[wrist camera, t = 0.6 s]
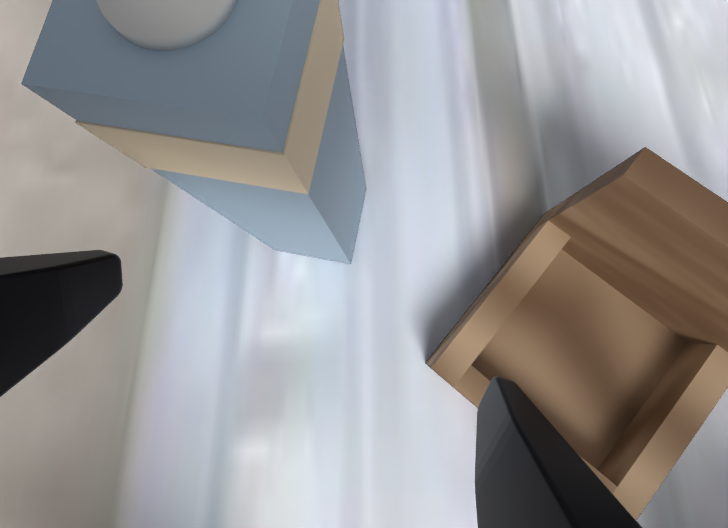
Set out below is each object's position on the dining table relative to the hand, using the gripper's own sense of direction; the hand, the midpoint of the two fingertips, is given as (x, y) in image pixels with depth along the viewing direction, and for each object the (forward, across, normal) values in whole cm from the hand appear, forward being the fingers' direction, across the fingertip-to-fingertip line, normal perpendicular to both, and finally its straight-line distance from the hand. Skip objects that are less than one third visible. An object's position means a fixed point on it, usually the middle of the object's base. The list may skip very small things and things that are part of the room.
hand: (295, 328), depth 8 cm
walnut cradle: (+13, -13, +6) cm, 19 cm away
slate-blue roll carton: (+15, +4, +3) cm, 15 cm away
